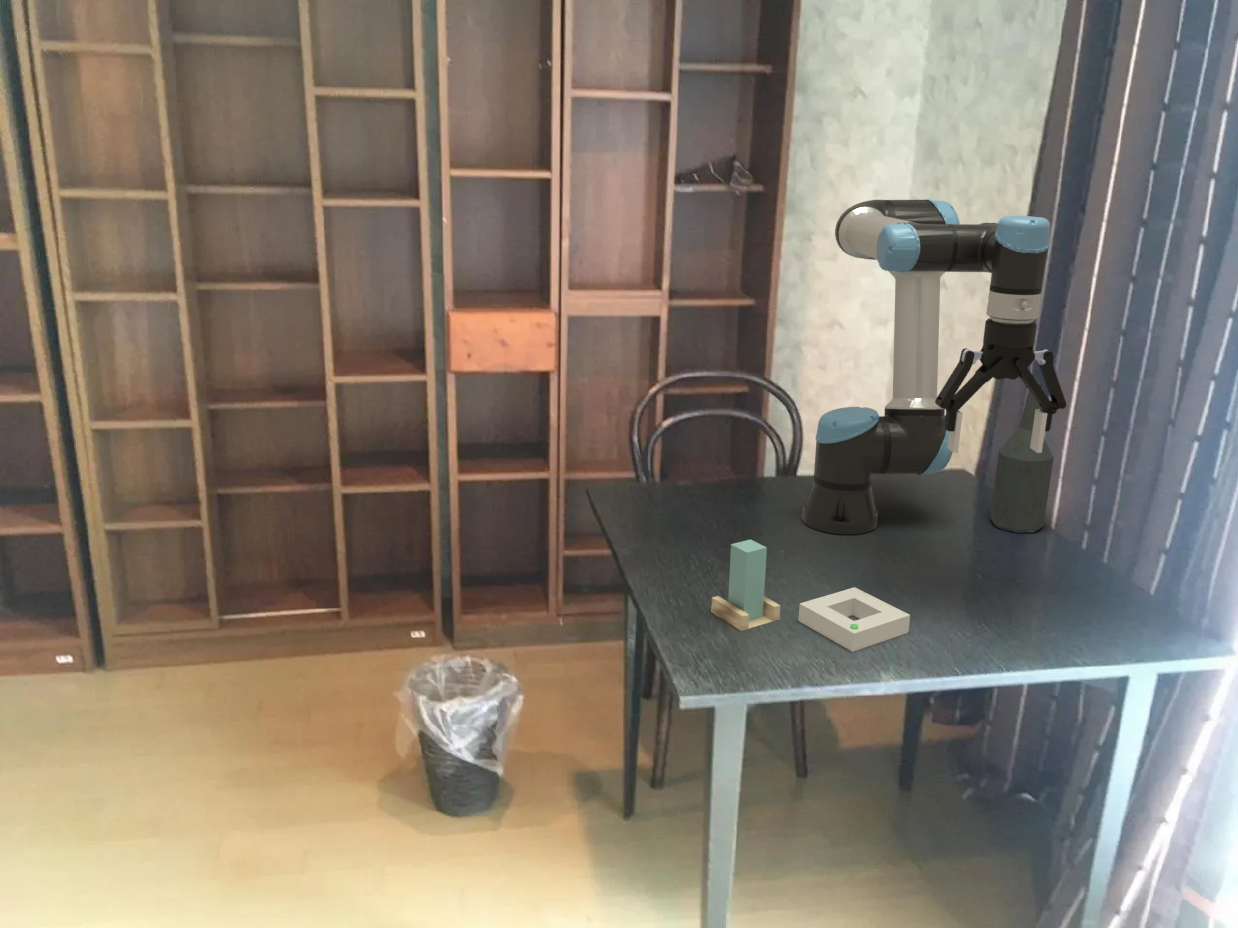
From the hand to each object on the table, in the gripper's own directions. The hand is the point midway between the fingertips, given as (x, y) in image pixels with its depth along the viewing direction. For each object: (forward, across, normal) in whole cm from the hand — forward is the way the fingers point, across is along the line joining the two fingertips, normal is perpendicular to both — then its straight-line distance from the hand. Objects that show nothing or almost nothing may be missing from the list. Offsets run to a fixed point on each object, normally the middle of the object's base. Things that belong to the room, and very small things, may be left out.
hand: (994, 450), depth 165 cm
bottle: (+28, +23, +37) cm, 51 cm away
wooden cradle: (+27, -40, -6) cm, 49 cm away
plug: (+26, -40, -6) cm, 48 cm away
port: (+27, -24, -11) cm, 38 cm away
